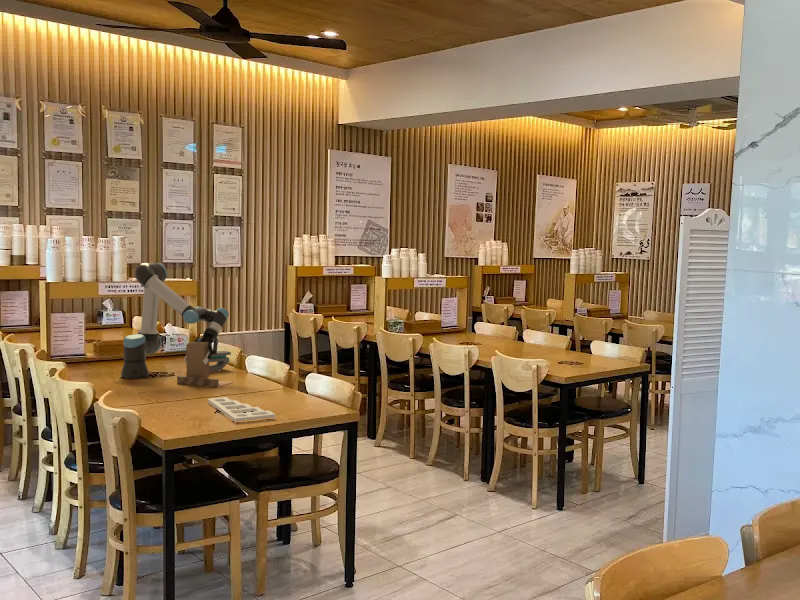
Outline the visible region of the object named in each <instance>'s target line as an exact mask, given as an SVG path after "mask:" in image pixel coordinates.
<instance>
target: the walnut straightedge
mask: <svg viewBox="0 0 800 600" xmlns="http://www.w3.org/2000/svg"><path fill="white" fill-rule="evenodd" d="M176 379H177V380H176V381H177V382H176V383H179V384H178V385H185V384H187V386H194V385H198V386H197V387H203V386H209V387H208V388H213V387H216V388H219V387H218V386H219V381H220V380H219V378H210V377H208V378H200V377H190V376H187V375H178V376H176Z"/></svg>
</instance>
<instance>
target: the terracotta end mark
mask: <svg viewBox="0 0 800 600" xmlns="http://www.w3.org/2000/svg"><path fill="white" fill-rule="evenodd" d="M229 383H231V384H233V383H234V382H233V381H224V380H219V386H220V387H223V386H226V385H225V384H227V385H230V384H229ZM222 385H223V386H222Z"/></svg>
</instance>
